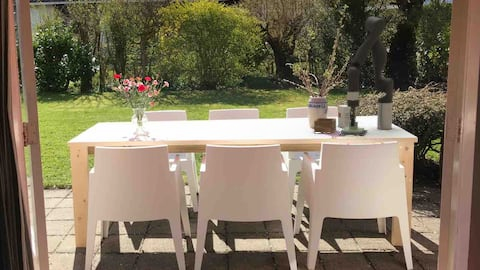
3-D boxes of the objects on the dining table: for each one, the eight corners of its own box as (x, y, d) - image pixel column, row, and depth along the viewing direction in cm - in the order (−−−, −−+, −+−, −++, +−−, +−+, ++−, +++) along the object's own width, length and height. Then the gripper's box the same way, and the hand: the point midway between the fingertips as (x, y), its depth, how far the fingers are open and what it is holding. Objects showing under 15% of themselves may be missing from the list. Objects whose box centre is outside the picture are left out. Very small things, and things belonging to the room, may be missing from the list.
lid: (345, 130, 331) (345, 120, 330) (364, 130, 327) (364, 120, 325) (342, 133, 320) (342, 123, 318) (362, 134, 316) (362, 123, 314)
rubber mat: (342, 130, 334) (342, 129, 334) (367, 130, 329) (367, 130, 329) (338, 135, 318) (338, 134, 317) (364, 136, 312) (364, 135, 312)
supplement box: (337, 126, 349) (337, 105, 346) (349, 125, 352) (349, 104, 349) (344, 128, 340) (344, 106, 338) (355, 127, 343) (356, 105, 340)
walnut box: (318, 130, 339) (317, 118, 337) (336, 130, 335) (336, 118, 333) (314, 133, 328) (314, 120, 326) (333, 133, 324) (333, 121, 322)
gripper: (348, 97, 327) (348, 123, 330) (345, 100, 314) (345, 127, 317) (360, 97, 325) (360, 124, 328) (357, 100, 312) (357, 127, 315)
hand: (353, 125), depth 322 cm, fingers open, 3 cm apart
